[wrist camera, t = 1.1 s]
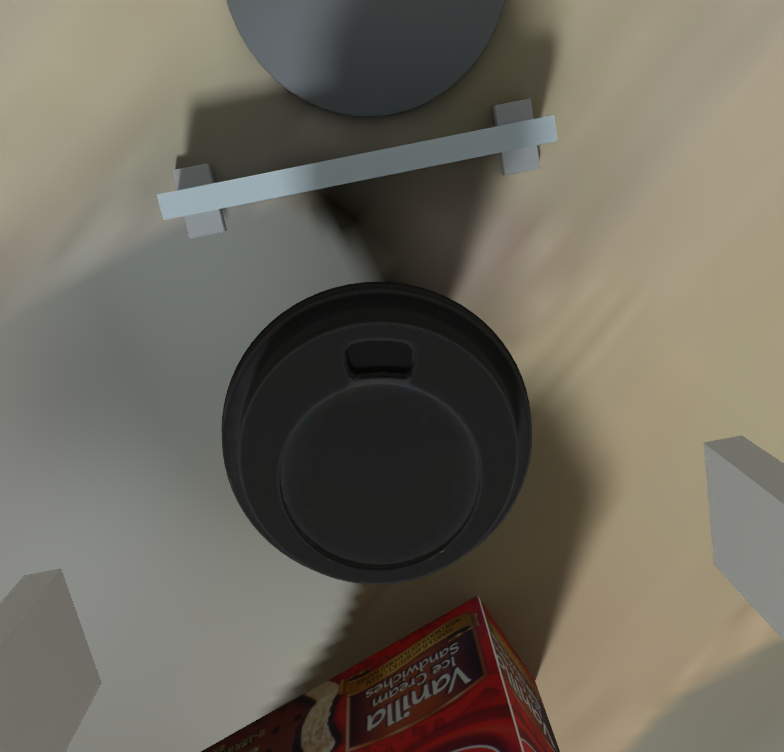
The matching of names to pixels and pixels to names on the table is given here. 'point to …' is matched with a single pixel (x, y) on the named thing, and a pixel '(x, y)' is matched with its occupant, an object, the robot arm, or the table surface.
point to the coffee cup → (376, 432)
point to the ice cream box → (416, 699)
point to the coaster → (366, 48)
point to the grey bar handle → (358, 168)
